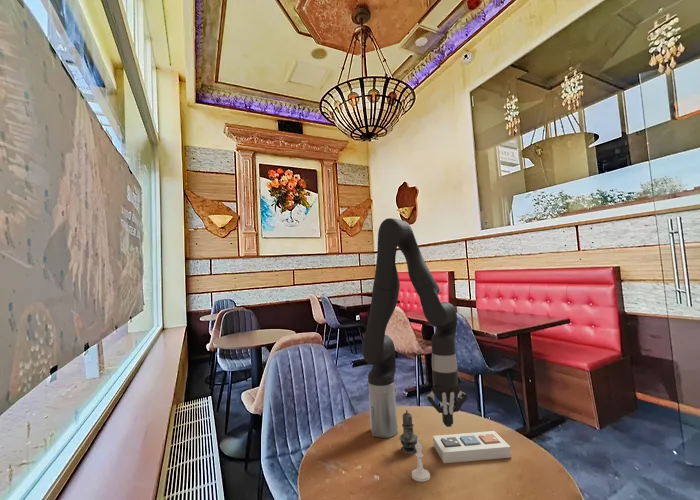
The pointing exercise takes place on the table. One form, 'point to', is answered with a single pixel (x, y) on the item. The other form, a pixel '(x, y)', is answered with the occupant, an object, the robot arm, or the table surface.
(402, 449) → the dark grey tall piece
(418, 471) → the chess piece
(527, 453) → the table surface
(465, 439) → the one-dot button
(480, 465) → the table surface
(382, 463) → the table surface
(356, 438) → the table surface
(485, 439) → the two-dot button
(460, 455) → the button panel
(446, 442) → the three-dot button
